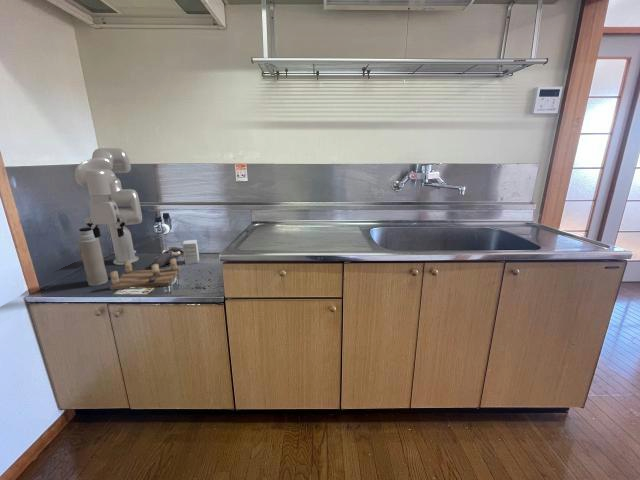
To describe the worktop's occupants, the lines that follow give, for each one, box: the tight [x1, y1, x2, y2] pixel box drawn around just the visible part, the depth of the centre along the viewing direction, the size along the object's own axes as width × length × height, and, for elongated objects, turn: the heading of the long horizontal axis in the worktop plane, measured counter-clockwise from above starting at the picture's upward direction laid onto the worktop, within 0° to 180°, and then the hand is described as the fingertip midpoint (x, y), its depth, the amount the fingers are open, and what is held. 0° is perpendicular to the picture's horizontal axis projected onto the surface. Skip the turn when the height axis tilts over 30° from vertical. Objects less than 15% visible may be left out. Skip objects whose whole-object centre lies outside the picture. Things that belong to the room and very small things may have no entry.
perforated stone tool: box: [153, 249, 174, 268], centre depth 165 cm, size 15×5×7 cm, turn 170°
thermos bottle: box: [77, 226, 109, 287], centre depth 138 cm, size 8×8×28 cm
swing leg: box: [149, 263, 160, 282], centre depth 140 cm, size 9×3×6 cm, turn 10°
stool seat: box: [109, 258, 181, 291], centre depth 144 cm, size 18×26×8 cm
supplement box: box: [182, 239, 200, 265], centre depth 168 cm, size 7×7×13 cm
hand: (109, 236), depth 128 cm, fingers open, 9 cm apart
